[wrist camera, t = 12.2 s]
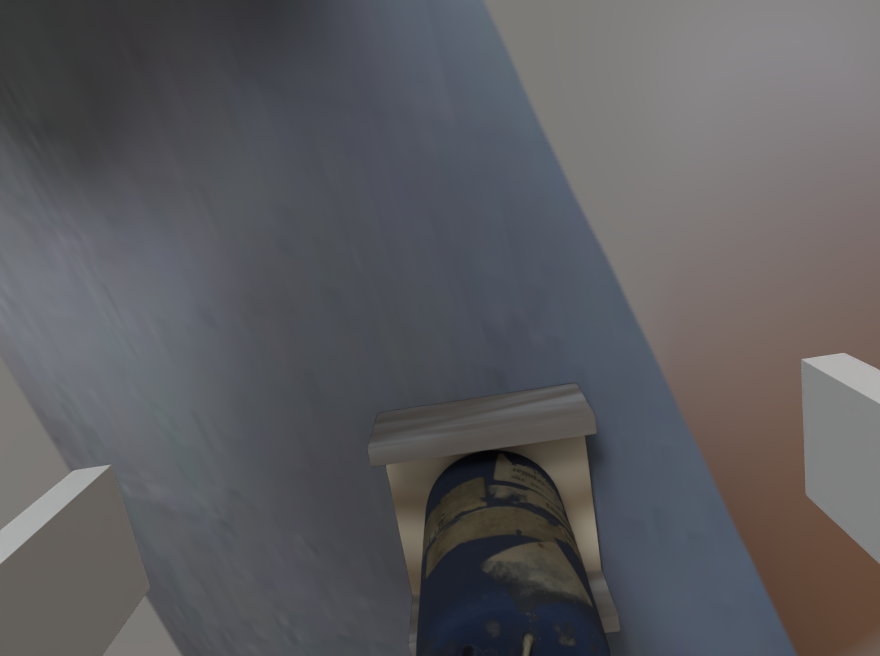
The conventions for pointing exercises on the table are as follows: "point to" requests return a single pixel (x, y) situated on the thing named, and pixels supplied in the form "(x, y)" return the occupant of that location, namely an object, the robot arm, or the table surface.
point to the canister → (503, 566)
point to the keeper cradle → (492, 428)
